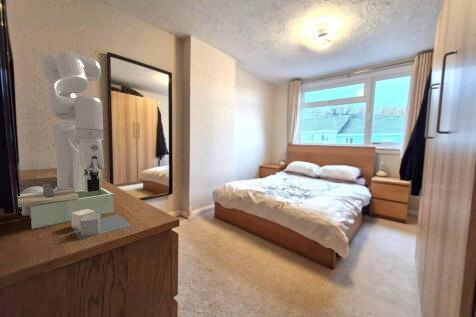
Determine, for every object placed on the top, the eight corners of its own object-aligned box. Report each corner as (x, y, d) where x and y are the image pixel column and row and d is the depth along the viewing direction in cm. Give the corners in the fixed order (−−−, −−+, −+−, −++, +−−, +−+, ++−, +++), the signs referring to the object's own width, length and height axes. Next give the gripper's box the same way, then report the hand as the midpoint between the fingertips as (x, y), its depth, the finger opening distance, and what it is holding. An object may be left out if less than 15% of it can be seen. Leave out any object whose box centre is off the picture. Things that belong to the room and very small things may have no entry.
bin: (29, 218, 63) (28, 197, 62) (103, 204, 77) (102, 187, 77) (32, 230, 55) (30, 206, 54) (113, 212, 69) (113, 193, 69)
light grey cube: (84, 229, 55) (84, 215, 55) (100, 227, 56) (100, 213, 56) (81, 236, 51) (80, 221, 51) (98, 234, 53) (97, 219, 52)
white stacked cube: (82, 189, 69) (81, 174, 69) (97, 187, 72) (97, 173, 72) (85, 191, 66) (84, 176, 66) (101, 189, 69) (100, 175, 69)
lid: (17, 197, 61) (17, 185, 61) (71, 191, 70) (70, 180, 70) (18, 207, 52) (17, 193, 52) (78, 198, 62) (78, 186, 61)
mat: (70, 226, 58) (70, 225, 58) (117, 215, 66) (117, 214, 66) (79, 241, 50) (79, 239, 49) (132, 226, 58) (132, 225, 58)
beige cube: (71, 226, 57) (71, 212, 56) (87, 221, 60) (87, 208, 60) (79, 230, 55) (78, 215, 54) (95, 224, 58) (95, 211, 58)
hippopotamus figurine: (72, 209, 72) (70, 184, 71) (19, 219, 62) (17, 190, 61) (67, 204, 76) (66, 181, 76) (18, 213, 67) (16, 186, 66)
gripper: (110, 135, 65) (112, 192, 66) (96, 135, 76) (98, 184, 78) (81, 134, 59) (83, 196, 61) (70, 134, 71) (72, 187, 72)
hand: (91, 189), depth 69 cm, fingers closed on white stacked cube, 4 cm apart
